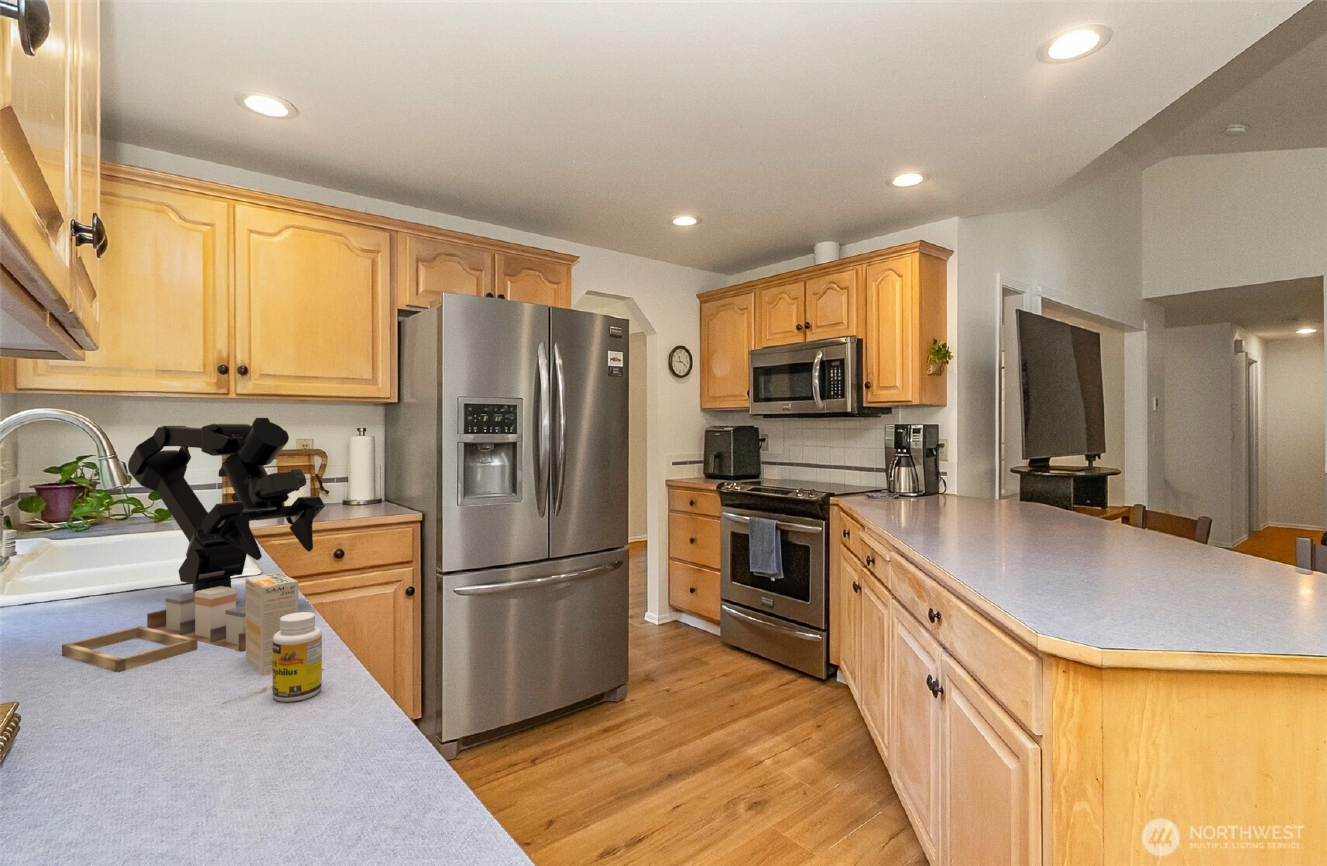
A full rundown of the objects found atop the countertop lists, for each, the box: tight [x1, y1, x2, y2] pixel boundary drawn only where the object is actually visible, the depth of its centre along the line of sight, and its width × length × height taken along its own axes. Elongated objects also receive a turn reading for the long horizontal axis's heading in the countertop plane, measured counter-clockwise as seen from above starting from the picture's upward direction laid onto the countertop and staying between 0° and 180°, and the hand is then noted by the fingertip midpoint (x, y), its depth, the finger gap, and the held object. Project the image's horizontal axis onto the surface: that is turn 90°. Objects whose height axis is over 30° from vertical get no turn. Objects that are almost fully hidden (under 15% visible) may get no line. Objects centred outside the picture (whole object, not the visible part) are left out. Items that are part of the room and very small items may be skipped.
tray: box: [61, 625, 198, 673], centre depth 96 cm, size 15×10×2 cm, turn 65°
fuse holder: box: [146, 608, 246, 653], centre depth 105 cm, size 25×7×4 cm, turn 65°
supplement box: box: [245, 572, 299, 676], centre depth 92 cm, size 8×5×13 cm, turn 47°
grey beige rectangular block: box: [165, 591, 195, 631], centre depth 108 cm, size 4×4×5 cm
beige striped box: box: [195, 586, 238, 638], centre depth 105 cm, size 4×4×7 cm
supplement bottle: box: [271, 611, 323, 703], centre depth 84 cm, size 6×6×10 cm
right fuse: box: [226, 604, 246, 645], centre depth 101 cm, size 4×4×5 cm
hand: (286, 554), depth 110 cm, fingers open, 9 cm apart
